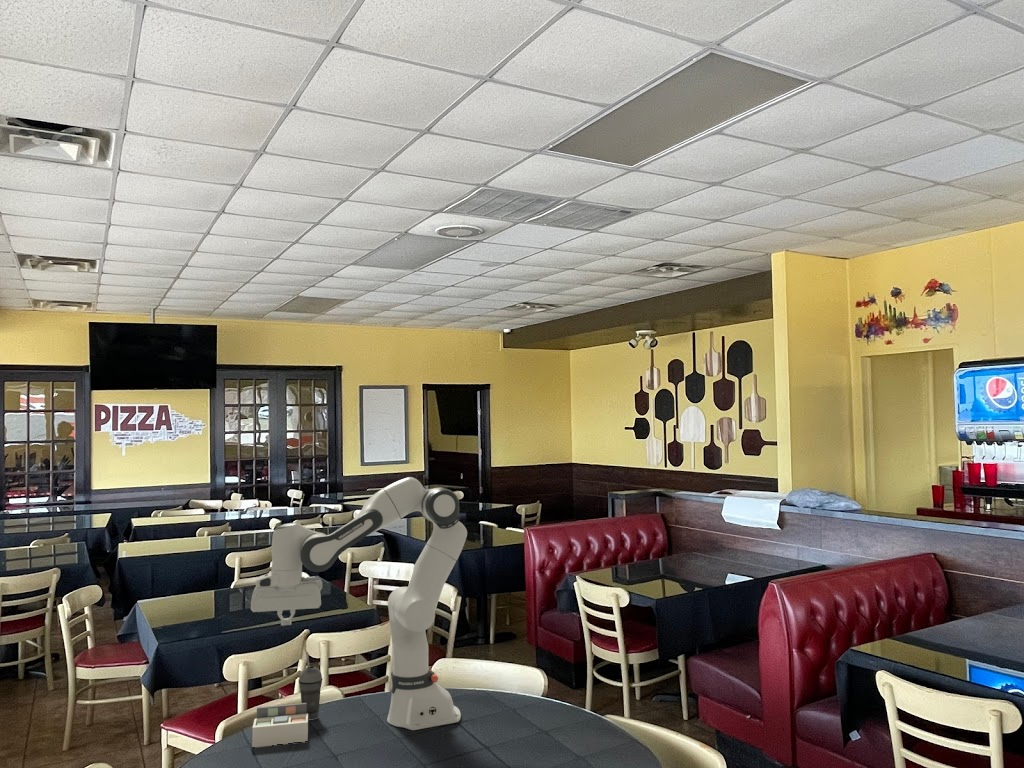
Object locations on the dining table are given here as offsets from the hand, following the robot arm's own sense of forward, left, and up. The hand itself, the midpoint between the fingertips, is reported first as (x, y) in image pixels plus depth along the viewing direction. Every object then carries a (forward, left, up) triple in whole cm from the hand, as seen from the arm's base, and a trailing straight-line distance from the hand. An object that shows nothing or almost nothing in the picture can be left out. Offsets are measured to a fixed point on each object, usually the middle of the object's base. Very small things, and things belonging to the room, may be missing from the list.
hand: (286, 624), depth 227 cm
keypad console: (+1, +5, -31) cm, 31 cm away
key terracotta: (-4, +6, -28) cm, 29 cm away
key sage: (+6, +6, -28) cm, 29 cm away
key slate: (+1, +6, -27) cm, 28 cm away
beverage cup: (-7, -9, -31) cm, 33 cm away
